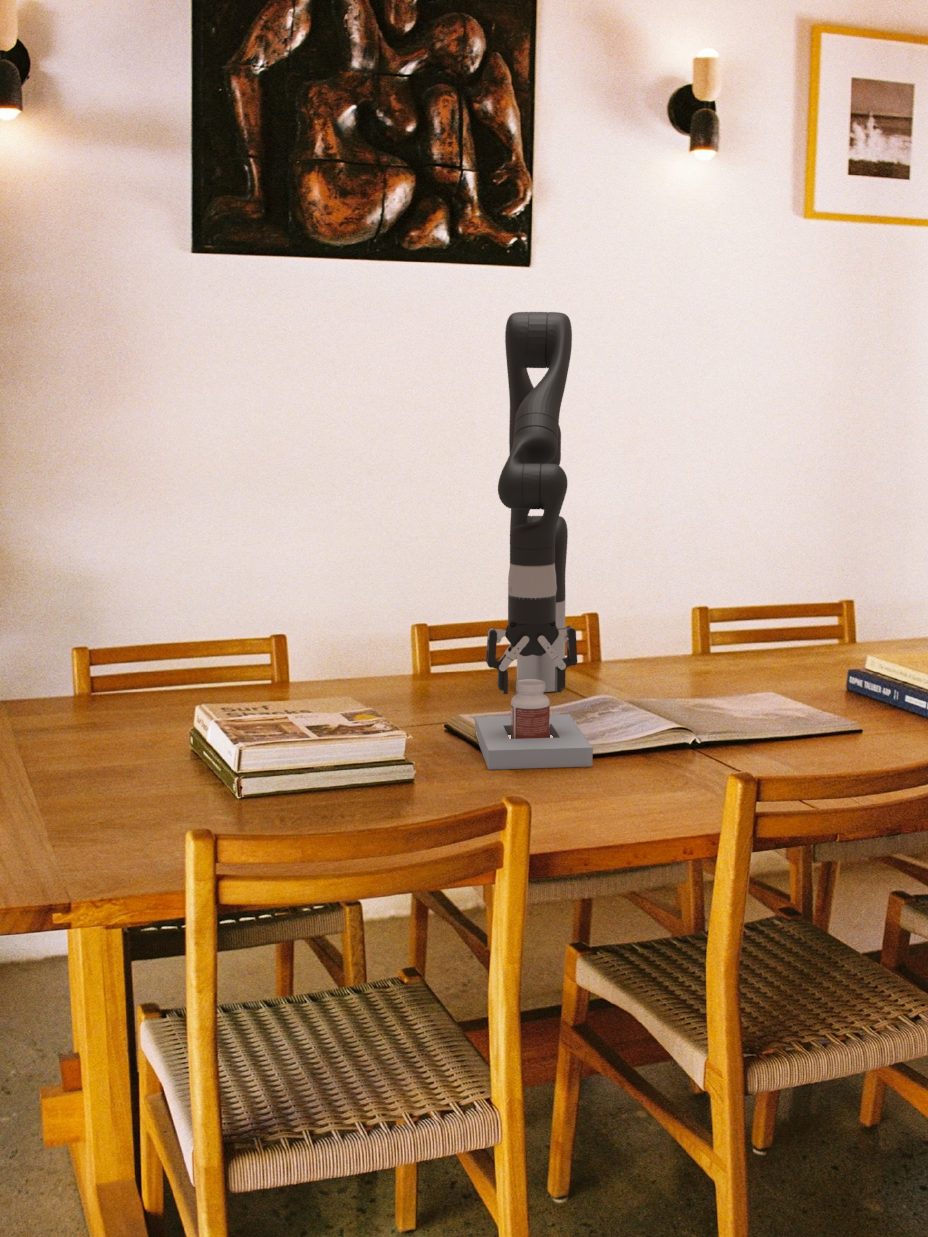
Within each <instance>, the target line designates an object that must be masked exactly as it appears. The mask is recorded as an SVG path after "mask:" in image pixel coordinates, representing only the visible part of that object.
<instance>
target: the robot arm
mask: <svg viewBox="0 0 928 1237" xmlns="http://www.w3.org/2000/svg"><path fill="white" fill-rule="evenodd" d="M504 335H505V336H504V337H505V338H504V341H505V342H504V344H505V356H506V357H505V358H506V368H507V379H508V392H509V393H508V394H509V425H508V426H509V430H508V431H509V432H508V433H509V434H508V437H509V439H508V442H509V443H508V444H509V446H508V447H509V456H508V458H507V459H506V462H505V464H504V465H503V468H502V471H501V472H500V476H499V479H498V482H497V493H498V498H499V500H500V502H501V503H502V504H503V506H505V507H506V508H508V509H510V522H509V524H510V525H509V568H508V569H509V570H508V575H507V576H508V578H507V579H508V580H507V625H506V628H505V629H501V628H500V629H499V628H497V629H496V628H495V627H490V628H488V630H487V640H486V656H485V662H486V665H487V666H488V667H489V668H492V669H496V670H497V687H498V689H499V691H501V692H502V694H503V695H509V671H508V668H509V666H510V665H511V664H512V662H513V661H515V660H516V682H517V681H519V680H525V679H536V680H542V681H544V682H545V692H544V693H552V692H556V693H562V690H564V689H565V688H566V671H567V668H569V667H572V666H576V665H577V664H578V649H577V648H578V645H577V631H576V629H575V628H574V627H573V626H572V625H568V626H566V569H567V568H566V567H567V554H568V552H567V551H568V539H569V538H568V535H569V533H568V525H567V521H566V520H565V518H564V517H563V516H561V515H560V514H561V510H562V507H563V504H564V501H565V497H566V494H567V491H568V477H567V474H566V471H565V470H564V469H563V467H561V466H560V464H561V460H562V452H561V451H562V432H561V427H560V425H559V424H560V412H561V407H562V402H563V398H564V393H565V388H566V384H567V380H568V379H567V378H568V373H569V369H570V368H569V367H570V363H571V362H570V361H571V356H572V345H573V330H572V323H571V319H570V317H569V316H568V315H567V314H566V313H563V312H558V311H548V312H547V311H519V312H518V311H517V312H513V313H511V314H510V315H509V316H508V318H507V322H506V324H505V334H504ZM528 369H547V371H546V373H545V374H544V376H543V377H542V378H541V380H540V381H539V382H538V383H537V384H536V385H535V386H533V383H532V381H531V378H530V375H529V372H528ZM530 510H543V514H542V515H529V513H530ZM504 637H505V638H506V639H507V641H508V642H509V646H508V647H507V648H506V650H504V653H503V654H502V656H501V657H500V659H497V645H498V644H499V643H501V642H502V639H503V638H504Z"/></svg>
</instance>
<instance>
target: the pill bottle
mask: <svg viewBox="0 0 928 1237" xmlns="http://www.w3.org/2000/svg"><path fill="white" fill-rule="evenodd" d="M515 692H516V694H514V695H513V697H512V698H511V700H510V702H511V703H510V716H511V739H527V738H550V715H551V714H550V713H551V712H550V707H551V706H550V705H551V704H550V703H551V701H550V698H549V697H548V696H547V695H546V694H544V693H546V692H545V682H544V681H542V680H536V679H525V680H519V681H517V680H516V682H515Z"/></svg>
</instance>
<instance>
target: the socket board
mask: <svg viewBox="0 0 928 1237" xmlns="http://www.w3.org/2000/svg"><path fill="white" fill-rule="evenodd" d="M475 729H476V732H477V736H478V740H479V743H478V746H479V748H480V751H481V754H482V757H483V759H484V761H485V765H486V767H487V770H515V769H516V770H520V769H549V768H550V769H551V768H552V769H554V768H586V767H588V768H589V767H593V749H594V748H593V746H592V744H591V743H590V741H589V740H588V739H587V737H586V736H585V734H584V733H583V731H582V730H581V729H580V727H579V726H578V724H577V723H576V721H575V720H574V719H573V717H572V716H571V714H567V713H566V714H550V735H552V736H553V738H527V739H509V737H508V735H511V715H493V716H490V715H489V716H487V715H486V716H475V717H474V730H475Z"/></svg>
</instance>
